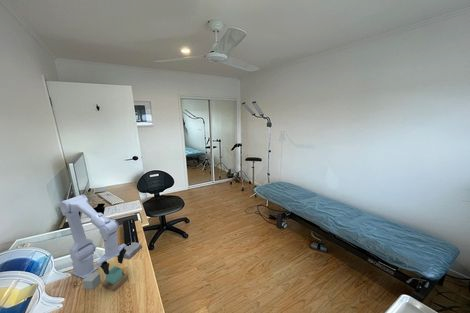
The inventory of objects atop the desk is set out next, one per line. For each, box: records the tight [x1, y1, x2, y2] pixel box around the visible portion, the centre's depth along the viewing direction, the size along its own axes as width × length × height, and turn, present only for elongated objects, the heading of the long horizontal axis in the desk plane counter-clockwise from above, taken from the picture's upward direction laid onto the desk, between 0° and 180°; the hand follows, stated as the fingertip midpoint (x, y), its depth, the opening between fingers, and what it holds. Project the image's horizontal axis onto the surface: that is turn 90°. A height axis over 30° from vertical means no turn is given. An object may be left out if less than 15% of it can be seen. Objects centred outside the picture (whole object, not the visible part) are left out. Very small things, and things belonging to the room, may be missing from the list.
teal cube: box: [105, 266, 123, 284], centre depth 97 cm, size 5×5×5 cm
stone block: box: [123, 241, 143, 260], centre depth 121 cm, size 12×5×10 cm
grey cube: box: [82, 272, 102, 290], centre depth 96 cm, size 5×5×5 cm
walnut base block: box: [101, 272, 129, 292], centre depth 98 cm, size 8×8×3 cm
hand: (113, 268), depth 97 cm, fingers open, 7 cm apart
